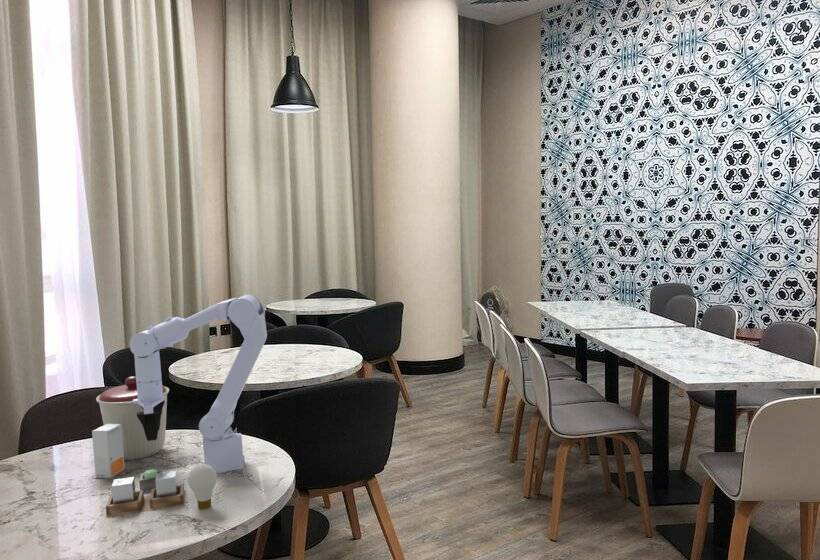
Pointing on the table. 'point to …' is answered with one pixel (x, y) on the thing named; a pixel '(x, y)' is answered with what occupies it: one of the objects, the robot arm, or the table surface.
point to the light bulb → (202, 484)
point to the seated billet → (166, 484)
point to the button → (150, 473)
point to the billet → (123, 490)
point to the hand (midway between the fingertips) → (153, 435)
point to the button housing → (147, 482)
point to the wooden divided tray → (145, 502)
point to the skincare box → (108, 450)
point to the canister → (131, 419)
